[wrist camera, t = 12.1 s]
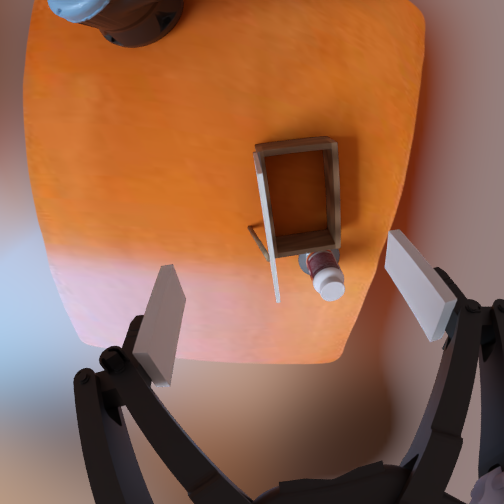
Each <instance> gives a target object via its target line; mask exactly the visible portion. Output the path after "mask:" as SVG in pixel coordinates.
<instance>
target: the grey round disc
mask: <svg viewBox="0 0 504 504" xmlns="http://www.w3.org/2000/svg"><path fill="white" fill-rule="evenodd" d="M331 251H332V253H333V255H334V257H335V259H336V261H337V263H338V261H339V257H340V254H339V250H338V249H331ZM308 254H309V253H306V254H300V255H299V258H298V261H299V265H300V267H301V269H302V270H303V271H304V272H305V273H307V274H309V271H308V268H307V265H306V258H307V255H308ZM309 275H310V274H309Z"/></svg>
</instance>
